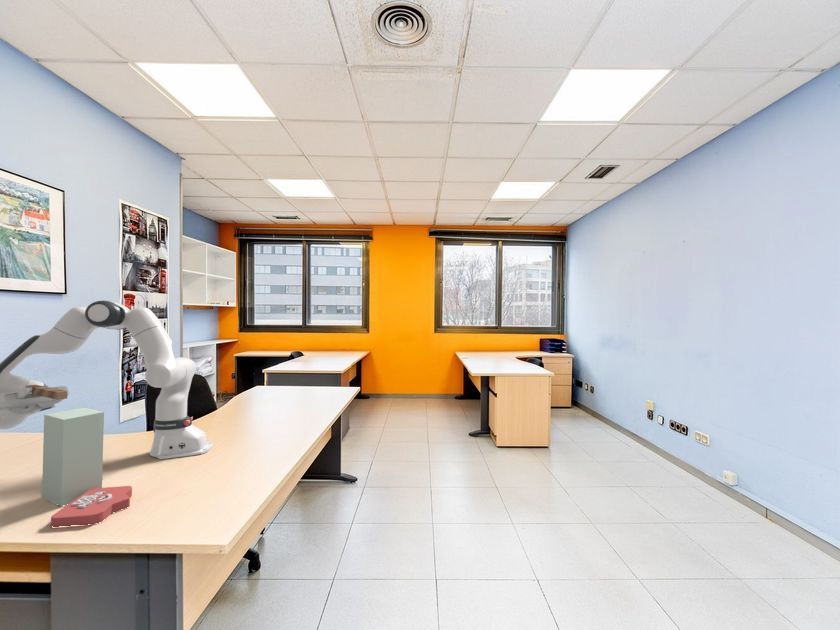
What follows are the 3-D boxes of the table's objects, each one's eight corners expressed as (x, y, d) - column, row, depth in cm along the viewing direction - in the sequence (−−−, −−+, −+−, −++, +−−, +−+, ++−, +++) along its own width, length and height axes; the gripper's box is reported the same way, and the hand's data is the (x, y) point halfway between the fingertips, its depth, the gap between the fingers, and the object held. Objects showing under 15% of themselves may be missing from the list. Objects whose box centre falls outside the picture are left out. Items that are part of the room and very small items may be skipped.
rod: (26, 392, 128) (26, 385, 128) (35, 391, 130) (35, 384, 130) (57, 399, 118) (57, 392, 118) (67, 398, 121) (67, 391, 121)
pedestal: (41, 498, 114) (44, 414, 114) (82, 485, 123) (84, 407, 123) (61, 507, 109) (63, 419, 109) (101, 492, 118) (103, 412, 118)
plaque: (111, 511, 101) (46, 516, 98) (111, 525, 101) (46, 531, 98) (144, 482, 119) (90, 486, 115) (144, 494, 119) (90, 498, 115)
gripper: (-24, 402, 123) (-9, 384, 118) (56, 391, 141) (73, 376, 136) (-21, 419, 121) (-5, 403, 116) (60, 406, 140) (77, 391, 135)
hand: (38, 388), depth 126 cm, fingers closed on rod, 2 cm apart
